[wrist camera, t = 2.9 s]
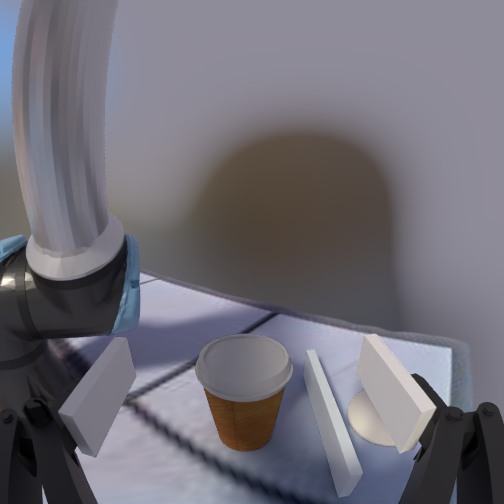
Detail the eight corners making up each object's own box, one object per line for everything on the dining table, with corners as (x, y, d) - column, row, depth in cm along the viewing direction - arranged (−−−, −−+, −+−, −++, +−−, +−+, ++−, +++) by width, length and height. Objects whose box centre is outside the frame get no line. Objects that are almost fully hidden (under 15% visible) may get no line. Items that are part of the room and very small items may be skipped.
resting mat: (331, 402, 33) (332, 400, 32) (395, 378, 36) (396, 376, 36) (379, 461, 21) (380, 458, 21) (444, 420, 24) (446, 417, 24)
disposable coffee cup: (241, 397, 34) (240, 323, 32) (300, 427, 29) (312, 350, 26) (189, 432, 27) (173, 355, 25) (249, 475, 21) (249, 402, 19)
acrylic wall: (349, 495, 18) (363, 473, 16) (338, 498, 17) (350, 476, 16) (310, 375, 39) (314, 349, 38) (303, 376, 39) (306, 350, 38)
